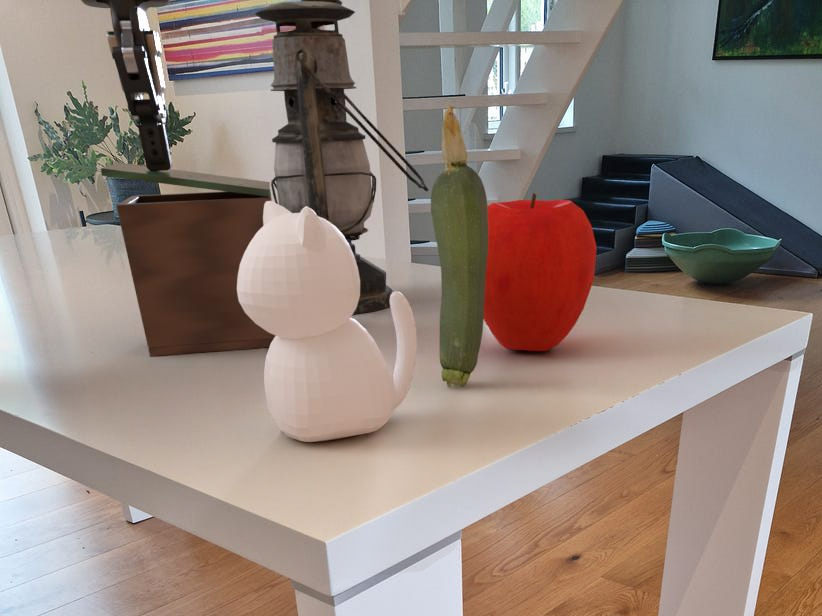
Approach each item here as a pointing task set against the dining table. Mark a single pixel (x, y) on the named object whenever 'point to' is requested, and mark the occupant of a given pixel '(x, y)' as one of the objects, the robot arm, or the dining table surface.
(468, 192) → the vegetable
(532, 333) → the apple
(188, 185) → the lid
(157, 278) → the brown wooden bin
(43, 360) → the dining table surface
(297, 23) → the lantern
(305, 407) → the cat figurine
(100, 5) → the robot arm
